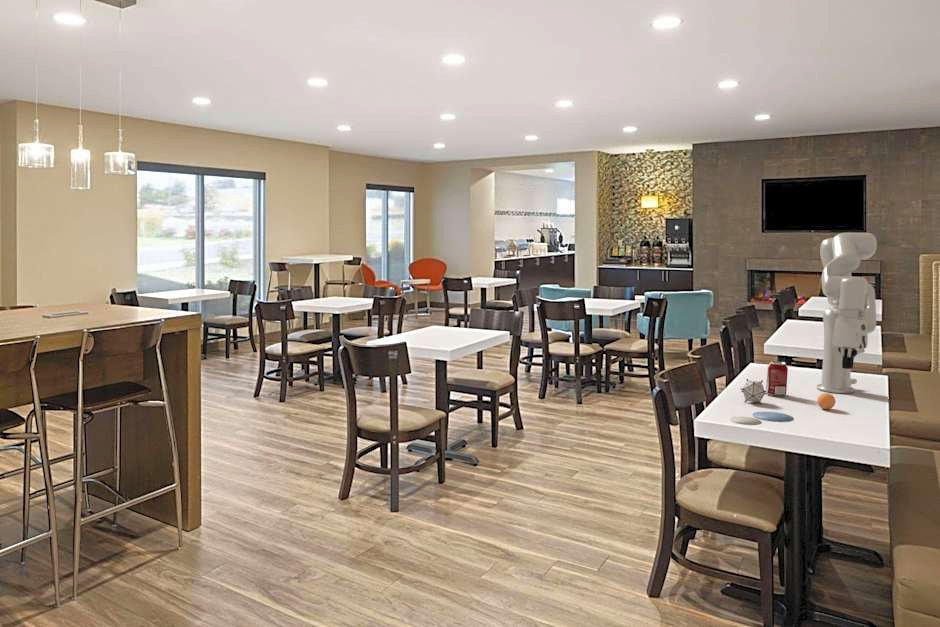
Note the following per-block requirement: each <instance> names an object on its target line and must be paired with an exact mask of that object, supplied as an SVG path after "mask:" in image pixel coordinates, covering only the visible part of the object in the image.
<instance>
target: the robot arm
mask: <svg viewBox="0 0 940 627" xmlns="http://www.w3.org/2000/svg"><path fill="white" fill-rule="evenodd" d="M877 246H878V243H877V238H876V236H875V235H874V234H873V233H872V232H871V233H870V232H840V233H838V234H837V235H835V236H833V237H830V238H826V239H824V240H822V242H821V244H820V246H819V248H820V249H819V250H820V251H819V253H820V259H821V263H822V266H823V270H822V273H821V277H820V278H821V280H820V281H821V290H822V293H823V295H824V296H826V299H827V301H828V302H827V303H828V304H830V306H831V307H827V308H826V309H825V310H824V312H823V315H822V321H823V334H824V335H823V336H824V337H823V338H824V339H823V354H822V369H821V371H822V372H821V383H818V384H816V389H817V390H820V391H822V392H825V393H834V394H852V393H854V392H855V388H854V387H852V386H851V385H856V384H857V383H858V380H857V379H856V378H852V377H851V373H852V372H851V371H852V369H853V367H854V363H855V362H854V360H855V359H854V358H855V357H856V356H857V355H858V354H864V353H865V352H866V350H865V349H866V348H867V347H868V340H869V338H868V336H869V335H868V334H871V333H873V332H874V331H875V330H876V326H877V306H876V304H877V303H876V294H875V292H876V291H875V288H874V287H873V285H872V284H870V283H869V282H868V280H867V279H866V278H865V277H862V276H852V272H854V271H855V270H857V269H858V268H859V267H860V264H861V261H863V260H865V261H866V260H869V259H870V258H872V257H873V256H874V255H875V253H876V251H877V248H878V247H877Z"/></svg>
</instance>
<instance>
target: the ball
mask: <svg viewBox="0 0 940 627" xmlns="http://www.w3.org/2000/svg"><path fill="white" fill-rule="evenodd" d="M816 403H817V405H818V406H819V407H820V408H821V409H823V410H830V409H833V408H834V407H835V405H836V398H835V397H834V395H833V394H831V393H830V392H823V393H821V394H819V395H818V397H817V399H816Z"/></svg>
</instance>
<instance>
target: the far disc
mask: <svg viewBox="0 0 940 627" xmlns="http://www.w3.org/2000/svg"><path fill="white" fill-rule="evenodd" d="M731 420H732V421H731ZM730 421H731V422H733V421H734V422H733V423H736V422H737V424H740V423H742V424H741V425H748V424H749V425H755V426H756V425H759V424H761V423H762V421H761V419H758V418H756V417H750V416H732V417H730Z"/></svg>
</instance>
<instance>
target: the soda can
mask: <svg viewBox="0 0 940 627" xmlns="http://www.w3.org/2000/svg"><path fill="white" fill-rule="evenodd" d="M766 369H767V370H766V371H767V372H766V387H765V389H766V390H765V391H767V392H765V393H767V394H766V395H768V396H770V395H772V396H771V397H775V396H782V397H784V396H786V395H787V388H788V371H789V370H788V366H787V362H785V361H775V360H774V361H769V364H768V365H767V368H766Z"/></svg>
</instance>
